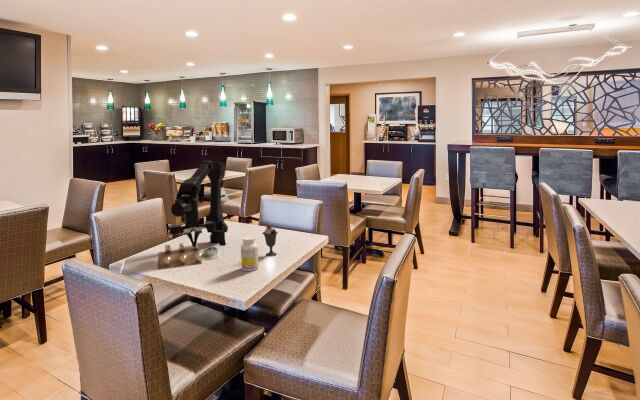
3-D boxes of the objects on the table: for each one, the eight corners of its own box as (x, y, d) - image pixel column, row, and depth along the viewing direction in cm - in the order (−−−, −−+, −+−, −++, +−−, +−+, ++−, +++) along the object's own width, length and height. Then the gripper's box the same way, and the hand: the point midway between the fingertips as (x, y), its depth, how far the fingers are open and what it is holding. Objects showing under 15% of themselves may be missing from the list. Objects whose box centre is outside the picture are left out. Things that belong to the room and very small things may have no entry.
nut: (217, 251, 180) (217, 246, 179) (218, 255, 175) (217, 249, 175) (204, 253, 178) (203, 247, 178) (204, 256, 173) (203, 250, 173)
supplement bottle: (250, 264, 166) (248, 234, 164) (262, 267, 162) (260, 237, 160) (238, 269, 161) (236, 238, 158) (250, 272, 157) (248, 241, 155)
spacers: (198, 248, 185) (197, 241, 184) (201, 262, 166) (201, 254, 166) (165, 252, 180) (164, 245, 179) (165, 267, 161) (164, 258, 161)
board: (213, 248, 189) (213, 245, 189) (219, 264, 167) (219, 261, 167) (158, 254, 181) (158, 252, 181) (157, 272, 159) (157, 269, 159)
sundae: (263, 252, 182) (262, 220, 179) (278, 251, 182) (277, 219, 179) (263, 257, 175) (261, 223, 172) (278, 256, 176) (277, 223, 173)
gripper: (211, 206, 182) (214, 239, 184) (167, 209, 175) (171, 244, 178) (214, 210, 171) (216, 246, 174) (168, 215, 165) (171, 251, 168)
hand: (194, 246), depth 174 cm, fingers closed
